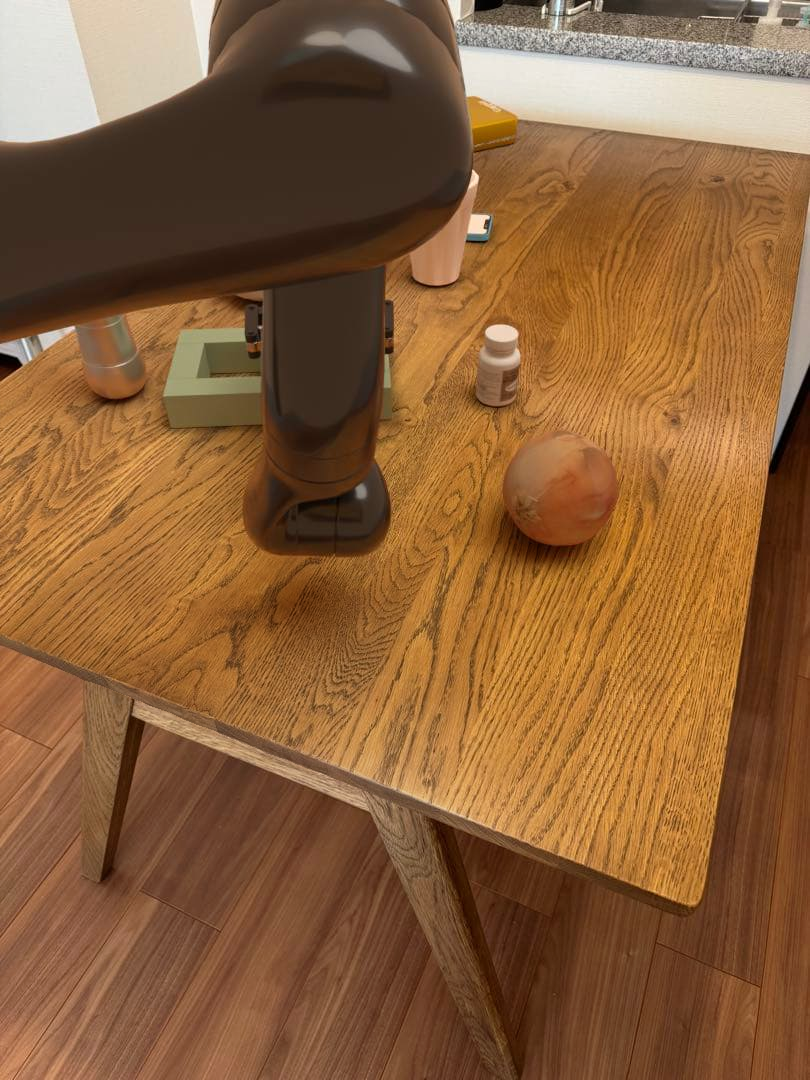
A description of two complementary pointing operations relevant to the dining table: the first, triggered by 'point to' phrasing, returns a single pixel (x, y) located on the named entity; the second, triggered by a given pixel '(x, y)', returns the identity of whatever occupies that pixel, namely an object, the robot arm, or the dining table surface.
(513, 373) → the pill bottle
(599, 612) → the dining table surface
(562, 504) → the onion
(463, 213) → the cup
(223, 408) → the holder
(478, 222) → the smartphone
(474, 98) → the element tile
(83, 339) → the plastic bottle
